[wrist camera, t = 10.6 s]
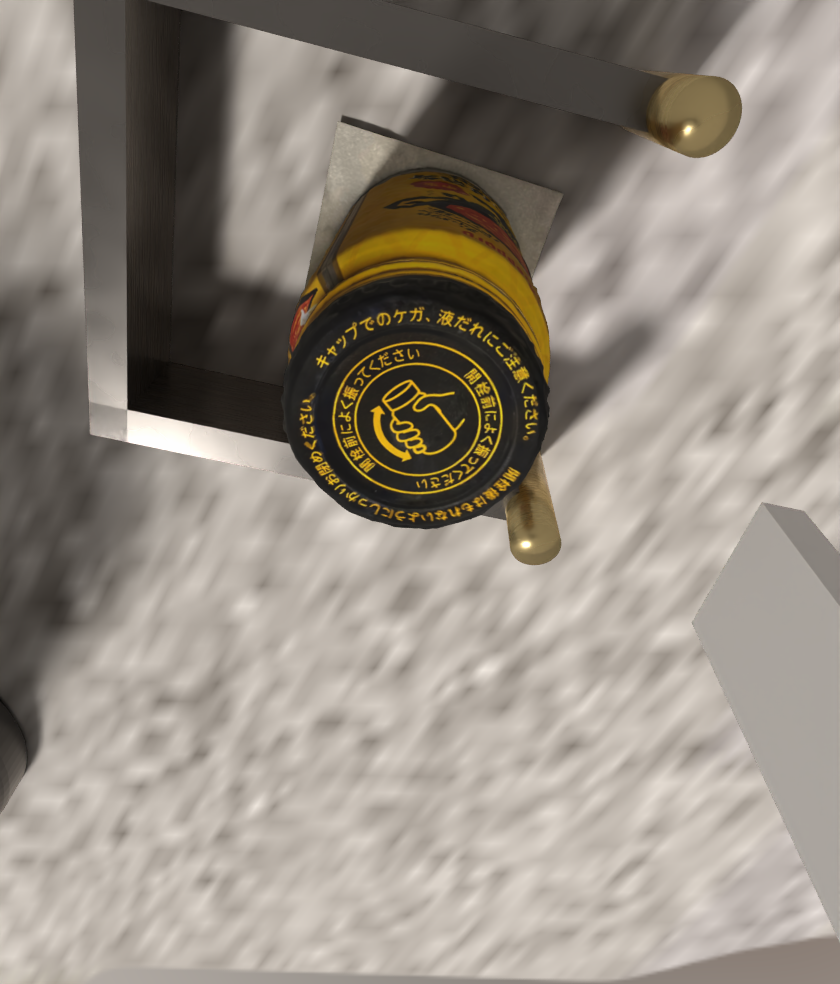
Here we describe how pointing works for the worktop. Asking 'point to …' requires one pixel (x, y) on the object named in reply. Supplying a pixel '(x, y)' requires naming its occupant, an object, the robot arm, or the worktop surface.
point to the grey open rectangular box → (151, 200)
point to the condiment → (419, 335)
